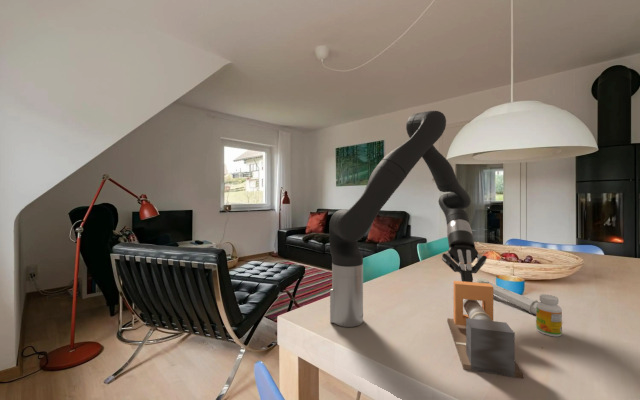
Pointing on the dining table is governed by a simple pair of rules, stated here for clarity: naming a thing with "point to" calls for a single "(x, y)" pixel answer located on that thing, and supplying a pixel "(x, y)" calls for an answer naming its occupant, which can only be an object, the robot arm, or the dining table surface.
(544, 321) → the supplement bottle
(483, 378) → the dining table surface
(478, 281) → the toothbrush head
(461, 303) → the collar
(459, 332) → the pipe stand
